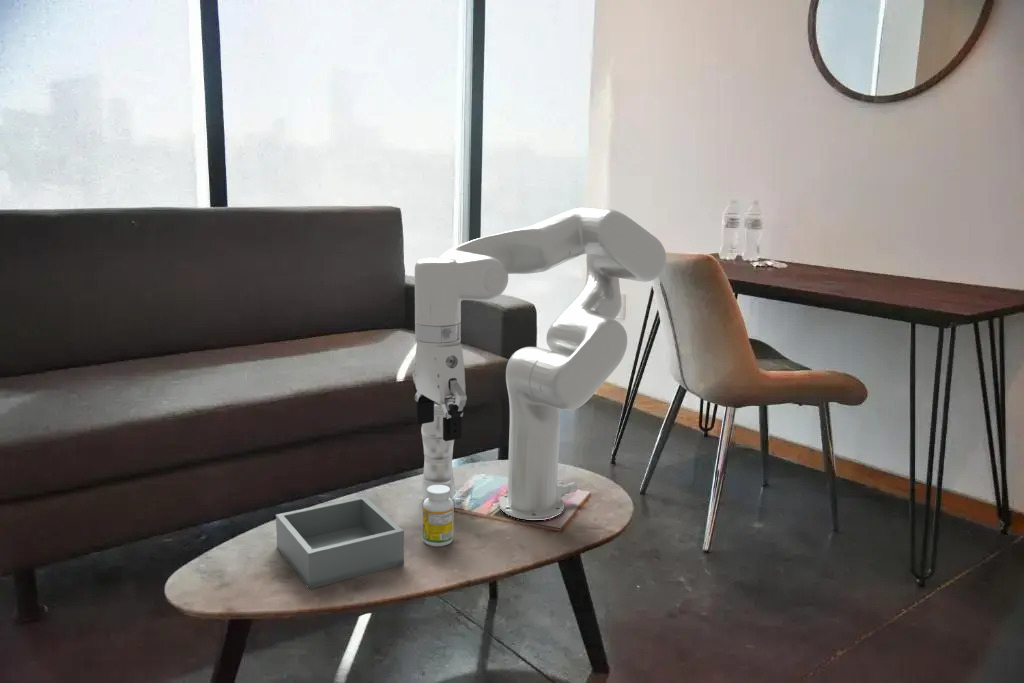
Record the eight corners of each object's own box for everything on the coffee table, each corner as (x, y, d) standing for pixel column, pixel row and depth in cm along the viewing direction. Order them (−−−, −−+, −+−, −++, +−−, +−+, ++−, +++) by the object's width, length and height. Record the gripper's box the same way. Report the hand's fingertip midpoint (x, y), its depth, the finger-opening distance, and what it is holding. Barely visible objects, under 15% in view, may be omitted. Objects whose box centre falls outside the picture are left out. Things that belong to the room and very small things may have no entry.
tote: (365, 527, 146) (364, 495, 145) (403, 564, 133) (403, 530, 132) (277, 547, 138) (275, 514, 136) (309, 589, 125) (308, 553, 123)
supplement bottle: (449, 548, 139) (450, 496, 137) (419, 545, 140) (419, 493, 138) (455, 534, 144) (456, 484, 142) (426, 532, 145) (427, 481, 143)
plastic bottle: (450, 509, 155) (451, 408, 151) (416, 505, 156) (416, 405, 152) (459, 496, 161) (460, 399, 157) (426, 492, 162) (427, 396, 158)
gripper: (484, 340, 129) (483, 442, 133) (433, 321, 143) (434, 413, 147) (442, 346, 125) (442, 450, 129) (394, 325, 139) (396, 420, 143)
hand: (438, 430), depth 138 cm, fingers open, 9 cm apart
